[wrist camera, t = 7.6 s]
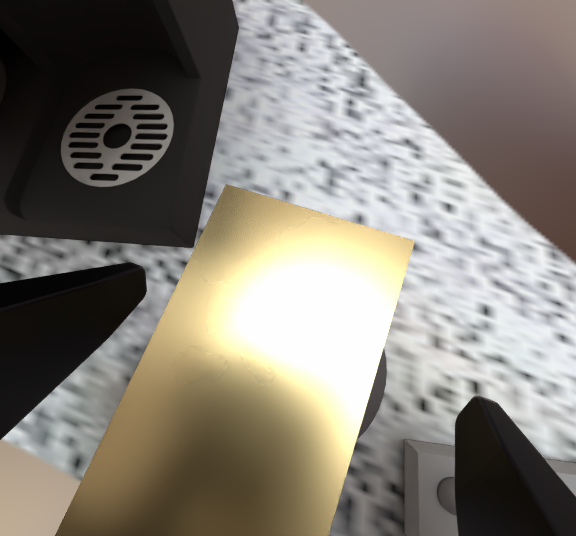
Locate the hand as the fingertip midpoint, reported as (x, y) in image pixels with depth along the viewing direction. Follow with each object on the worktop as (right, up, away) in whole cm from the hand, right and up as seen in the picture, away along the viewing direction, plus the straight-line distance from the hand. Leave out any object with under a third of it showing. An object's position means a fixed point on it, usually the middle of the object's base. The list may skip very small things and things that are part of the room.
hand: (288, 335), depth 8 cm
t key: (0, -3, +7) cm, 8 cm away
